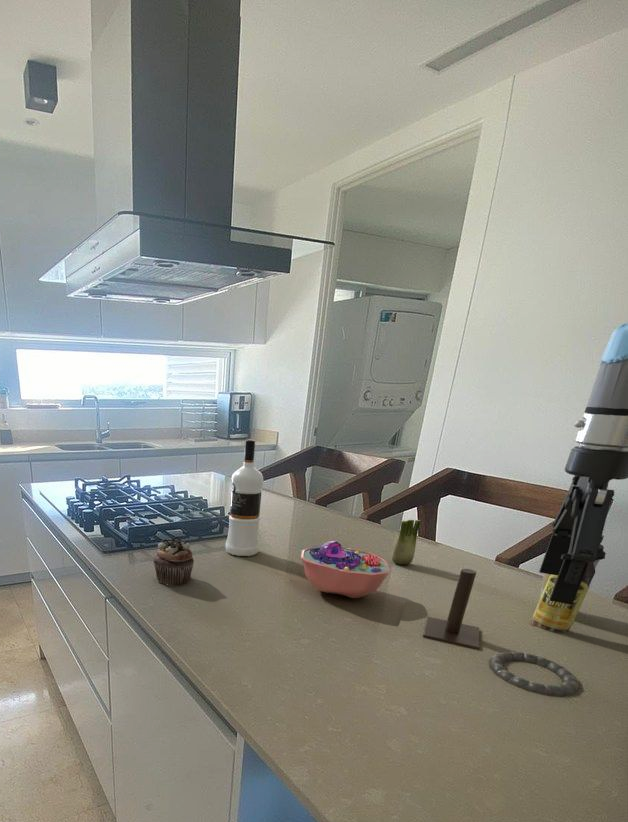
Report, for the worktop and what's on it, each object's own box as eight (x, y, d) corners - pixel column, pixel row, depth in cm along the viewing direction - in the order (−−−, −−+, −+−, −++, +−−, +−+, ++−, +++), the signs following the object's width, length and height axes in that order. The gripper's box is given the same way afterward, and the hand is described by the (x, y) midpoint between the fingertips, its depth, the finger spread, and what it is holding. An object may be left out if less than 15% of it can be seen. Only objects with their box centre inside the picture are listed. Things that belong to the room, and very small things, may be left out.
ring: (569, 672, 81) (573, 661, 80) (581, 710, 72) (586, 699, 71) (486, 653, 87) (489, 643, 86) (488, 686, 77) (491, 675, 76)
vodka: (262, 557, 132) (272, 442, 120) (228, 557, 131) (235, 441, 119) (254, 546, 140) (263, 438, 128) (222, 547, 139) (229, 437, 127)
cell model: (353, 618, 99) (363, 565, 94) (280, 586, 113) (285, 539, 108) (400, 599, 108) (411, 550, 103) (326, 572, 122) (333, 528, 118)
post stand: (477, 634, 93) (497, 568, 88) (477, 654, 86) (499, 584, 80) (425, 623, 97) (442, 559, 92) (421, 641, 90) (439, 573, 84)
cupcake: (201, 579, 116) (203, 539, 112) (173, 590, 110) (174, 548, 106) (173, 569, 122) (173, 530, 118) (144, 579, 116) (144, 539, 112)
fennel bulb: (410, 561, 131) (420, 517, 126) (415, 567, 127) (426, 522, 122) (387, 560, 132) (396, 516, 127) (392, 566, 127) (402, 521, 122)
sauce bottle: (525, 628, 96) (559, 530, 87) (535, 619, 99) (569, 525, 91) (564, 641, 91) (605, 539, 83) (574, 631, 95) (613, 533, 87)
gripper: (560, 438, 80) (520, 559, 88) (590, 454, 60) (534, 610, 68) (618, 441, 76) (570, 567, 85) (670, 460, 56) (600, 622, 65)
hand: (554, 586), depth 77 cm, fingers open, 13 cm apart
